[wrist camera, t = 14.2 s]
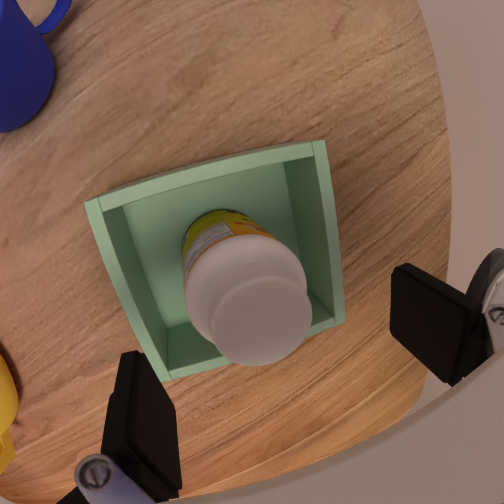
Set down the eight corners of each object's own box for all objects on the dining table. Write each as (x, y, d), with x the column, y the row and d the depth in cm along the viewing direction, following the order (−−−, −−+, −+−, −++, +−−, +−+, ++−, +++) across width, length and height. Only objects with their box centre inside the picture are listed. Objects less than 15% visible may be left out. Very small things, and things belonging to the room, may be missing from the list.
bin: (286, 142, 19) (324, 139, 14) (311, 288, 24) (346, 322, 19) (107, 189, 17) (83, 202, 12) (161, 335, 22) (160, 382, 16)
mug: (126, 17, 14) (101, -67, 5) (26, 160, 15) (-65, 173, 6) (55, -12, 11) (12, -76, 1) (-33, 117, 12) (-115, 113, 3)
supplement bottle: (275, 255, 21) (349, 331, 12) (210, 298, 21) (241, 401, 12) (234, 189, 19) (294, 223, 10) (164, 237, 19) (156, 316, 9)
